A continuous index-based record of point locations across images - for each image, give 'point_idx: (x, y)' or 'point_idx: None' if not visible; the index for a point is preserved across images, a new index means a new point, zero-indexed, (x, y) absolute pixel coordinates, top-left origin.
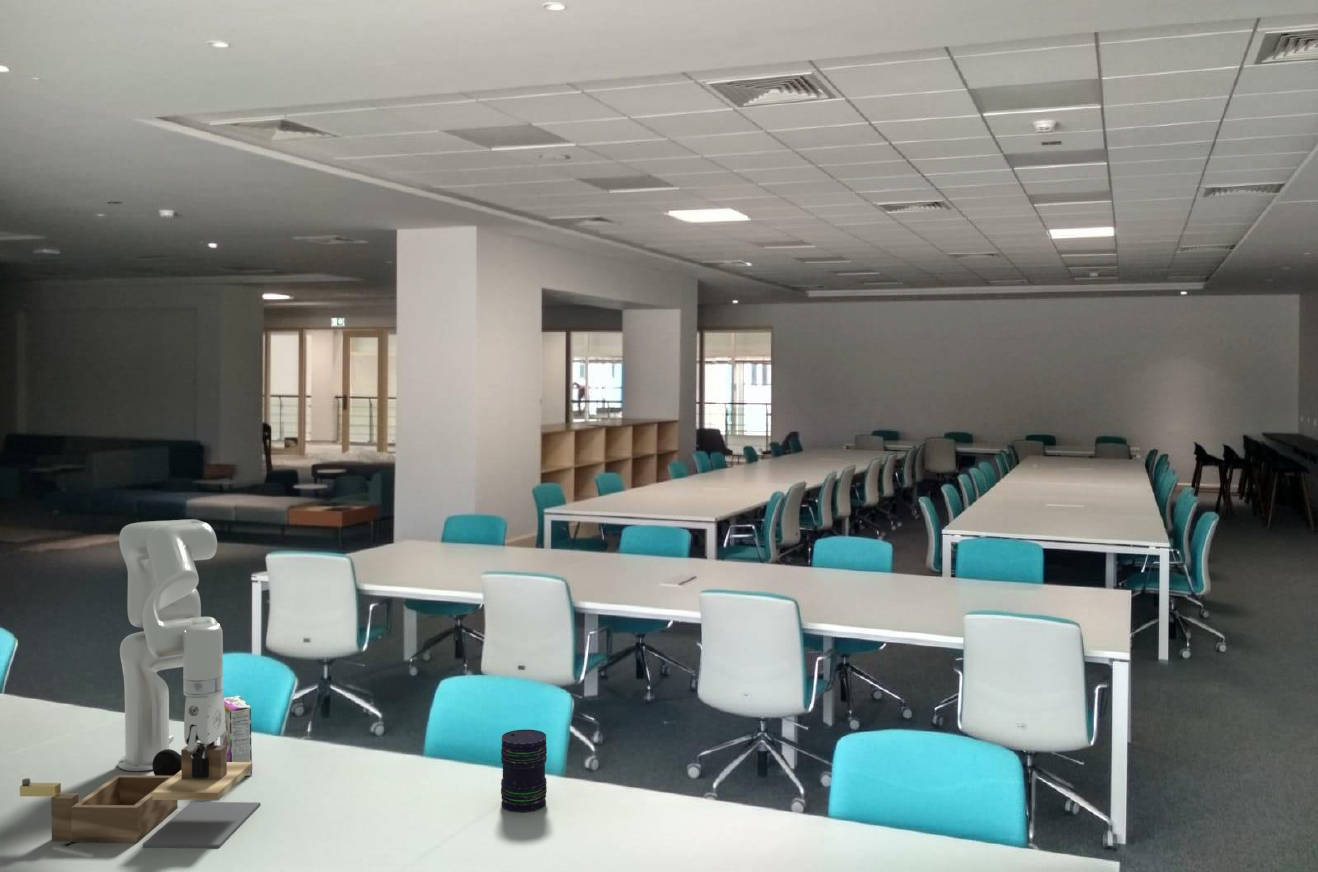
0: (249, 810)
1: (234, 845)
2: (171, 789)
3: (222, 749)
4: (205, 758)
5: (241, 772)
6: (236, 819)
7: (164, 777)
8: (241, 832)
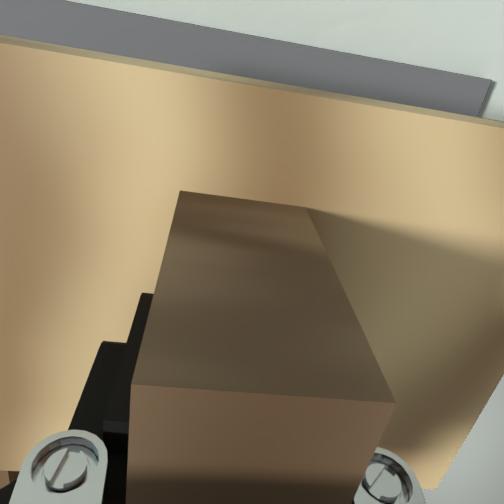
0: (71, 22)
1: (478, 11)
2: (425, 432)
3: (309, 387)
4: (375, 454)
5: (120, 62)
6: (197, 68)
7: (7, 483)
8: (327, 10)
